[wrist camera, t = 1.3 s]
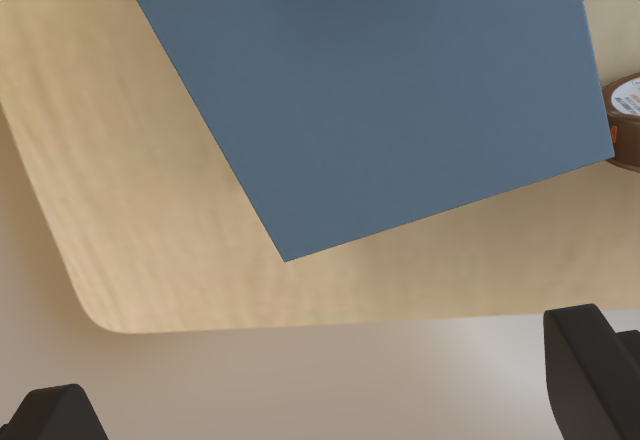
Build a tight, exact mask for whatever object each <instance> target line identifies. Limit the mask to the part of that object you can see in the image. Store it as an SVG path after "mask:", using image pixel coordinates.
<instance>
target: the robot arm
mask: <svg viewBox="0 0 640 440" xmlns="http://www.w3.org/2000/svg"><path fill="white" fill-rule="evenodd" d="M543 325H544V344H545V364H546V382H547V390H548V396H549V400H550V404H551V408H552V411H553V414H554V417H555V420H556V422H557V424H558V427H559V429H560V431H561V433H562V436H563V438H564V440H640V332H639V331H637V330H631V331H625V332H618V333H615V331H614V330H613V329H612V327H611V326H610V324H609V323H608V321H607V320H606V319H605V317H604V316H603V314H602V313H601V311H600V310H599V309H598V307H597V306H596V305H595V304H585V305H579V306H572V307H566V308H560V309H553V310H547V311H545V313H544V317H543ZM0 440H108V438H107V435H106V433H105V431H104V429H103V427H102V425H101V423H100V421H99V419H98V417H97V415H96V413H95V411H94V409H93V407H92V405H91V403H90V401H89V399H88V397H87V395H86V393H85V391H84V390H83V388H81V386H79V385H78V384H68V385H62V386H56V387H49V388H44V389H36V390H33V391H31V392H29V393H28V394H27V395H26V397H25V398H24V400H23V402H22V403H21V405H20V406H19V408H18V409H17V411H16V413H15V414H14V415H13V417H12V419H11V420H10V422H9V423H8V424H4V425H3V426H2V427H1V428H0Z"/></svg>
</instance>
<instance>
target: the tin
mask: <svg viewBox="0 0 640 440" xmlns="http://www.w3.org/2000/svg"><path fill="white" fill-rule="evenodd" d="M602 95H603V100H604V105H605V110H606V114H607V119H608V124H609V129H610V134H611V139H612V144H613V149H614V154H615V157H612V158H609V159H606V160H605V161H607V162H609V163H611V164H613V165H616V166H617V167H621V168H624V169H627V170H630V171H635V172H638V173H640V73H637V74H634V75H631V76H628V77H625V78H623V79H620V80H618V81H616V82H614V83H612V84H610V85H609V86H607V87H606V88H605V89H604V90H603V91H602Z"/></svg>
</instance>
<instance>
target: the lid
mask: <svg viewBox="0 0 640 440" xmlns="http://www.w3.org/2000/svg"><path fill="white" fill-rule="evenodd" d="M137 2H138V3H139V5H140V7H141V9H142V11H143V12H144V14H145V16H146V18H147V19H148V21H149V23H150V25H151V26H152V28H153V30H154V32H155V34H156V35H157V37H158V39H159V41H160V42H161V44H162V46H163V48H164V50H165V51H166V53H167V55H168V57H169V58H170V60H171V62H172V64H173V66H174V67H175V69H176V71H177V73H178V74H179V76H180V78H181V80H182V81H183V83H184V85H185V87H186V89H187V90H188V92H189V94H190V96H191V97H192V99H193V101H194V103H195V105H196V106H197V108H198V110H199V112H200V113H201V115H202V117H203V119H204V121H205V122H206V124H207V126H208V128H209V129H210V131H211V133H212V135H213V136H214V138H215V140H216V142H217V144H218V145H219V147H220V149H221V151H222V152H223V154H224V156H225V158H226V160H227V161H228V163H229V165H230V167H231V168H232V170H233V172H234V174H235V176H236V177H237V179H238V181H239V183H240V184H241V186H242V188H243V190H244V191H245V193H246V195H247V197H248V199H249V200H250V202H251V204H252V206H253V207H254V209H255V211H256V213H257V215H258V216H259V218H260V220H261V222H262V223H263V225H264V227H265V229H266V230H267V232H268V234H269V236H270V238H271V239H272V241H273V243H274V245H275V246H276V248H277V250H278V252H279V254H280V255H281V257H282V259H283V261H284V262H287V261H291V260H294V259H297V258H300V257H303V256H306V255H309V254H312V253H316V252H319V251H322V250H325V249H328V248H331V247H334V246H337V245H341V244H344V243H347V242H350V241H353V240H356V239H359V238H362V237H366V236H369V235H372V234H375V233H378V232H381V231H384V230H387V229H391V228H394V227H397V226H400V225H403V224H406V223H409V222H412V221H416V220H419V219H422V218H425V217H428V216H431V215H434V214H437V213H441V212H444V211H447V210H450V209H453V208H456V207H459V206H462V205H466V204H469V203H472V202H475V201H478V200H481V199H484V198H487V197H491V196H494V195H497V194H500V193H503V192H506V191H509V190H512V189H516V188H519V187H522V186H525V185H528V184H531V183H534V182H537V181H541V180H544V179H547V178H550V177H553V176H556V175H559V174H562V173H566V172H569V171H572V170H575V169H578V168H581V167H584V166H587V165H591V164H594V163H597V162H600V161H603V160H606V159H609V158H612V157H615V154H614V149H613V144H612V139H611V134H610V129H609V124H608V119H607V114H606V110H605V105H604V100H603V95H602V90H601V85H600V80H599V75H598V70H597V66H596V61H595V56H594V51H593V46H592V41H591V36H590V31H589V26H588V22H587V17H586V12H585V7H584V2H583V0H137Z"/></svg>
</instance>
